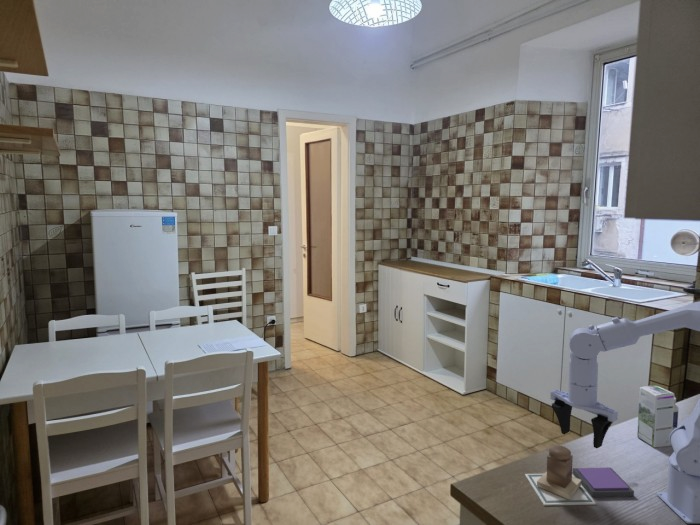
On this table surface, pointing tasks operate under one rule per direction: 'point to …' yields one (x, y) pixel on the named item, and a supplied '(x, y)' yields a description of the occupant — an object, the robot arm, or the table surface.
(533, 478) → the form card
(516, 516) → the table surface
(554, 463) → the stamp
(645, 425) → the syrup box
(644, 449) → the table surface
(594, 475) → the ink pad
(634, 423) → the table surface
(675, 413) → the pill bottle
